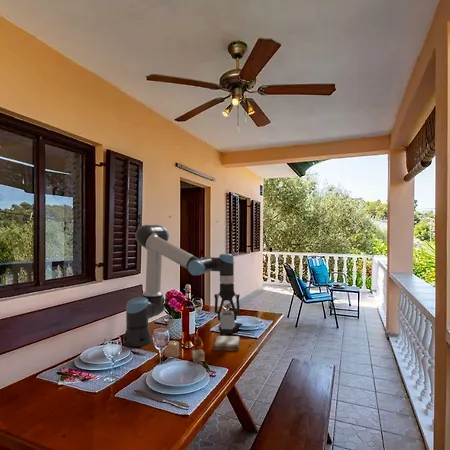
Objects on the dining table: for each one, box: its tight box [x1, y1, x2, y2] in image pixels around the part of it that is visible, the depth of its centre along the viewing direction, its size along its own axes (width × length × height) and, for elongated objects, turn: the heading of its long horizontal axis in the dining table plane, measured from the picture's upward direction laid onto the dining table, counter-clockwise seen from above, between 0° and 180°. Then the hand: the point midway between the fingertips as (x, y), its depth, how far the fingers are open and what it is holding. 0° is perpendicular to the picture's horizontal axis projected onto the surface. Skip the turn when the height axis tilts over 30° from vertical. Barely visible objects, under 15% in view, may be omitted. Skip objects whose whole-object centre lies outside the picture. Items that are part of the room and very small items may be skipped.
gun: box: [218, 322, 243, 336], centre depth 185 cm, size 4×20×10 cm, turn 145°
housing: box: [221, 309, 234, 329], centre depth 165 cm, size 7×6×8 cm
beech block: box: [191, 348, 206, 363], centre depth 147 cm, size 5×5×4 cm
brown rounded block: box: [164, 340, 180, 359], centre depth 153 cm, size 7×7×6 cm
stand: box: [212, 335, 241, 352], centre depth 165 cm, size 13×13×3 cm
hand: (227, 326), depth 165 cm, fingers closed on housing, 6 cm apart
